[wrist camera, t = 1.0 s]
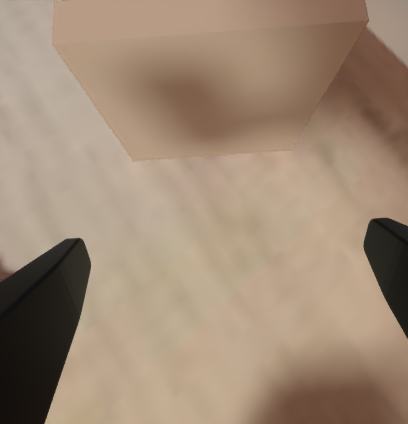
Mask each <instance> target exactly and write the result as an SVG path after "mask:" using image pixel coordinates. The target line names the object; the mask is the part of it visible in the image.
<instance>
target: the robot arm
mask: <svg viewBox="0 0 408 424" xmlns="http://www.w3.org/2000/svg"><path fill="white" fill-rule="evenodd" d="M364 251H365V254H366V256H367V258H368V261H369V263H370V265H371V268H372V270H373V272H374V275H375V277H376V279H377V282H378V284H379V286H380V289H381V291H382V293H383V295H384V297H385V299H386V301H387V303H388V305H389V307H390V309H391V310H392V312H393V314H394V316H395V317H396V319H397V321H398V323H399V324H400V326H401V328H402V330H403V331H404V333H405V335H406V337H407V338H408V226H406V225H404V224H402V223H399V222H397V221H394V220H392V219H389V218H374V219H372V220H370V222H369V224H368V228H367V232H366V236H365V239H364ZM90 269H91V261H90V258H89V255H88V252H87V249H86V246H85V243H84V241H83V240H82V239H81V238H71V239H65V240H64V241H62V242H61V243H59V244H58V245H56V246H55V247H53V248H52V249H50V250H48V251H47V252H45V253H44V254H42V255H41V256H39V257H38V258H36V259H35V260H33V261H32V262H30V263H29V264H27V265H26V266H24V267H23V268H21V269H20V270H18V271H17V272H15V273H13V274H12V275H10V276H9V277H7V278H6V279H4V280H3V281H1V282H0V424H45V421H46V418H47V415H48V412H49V409H50V406H51V403H52V400H53V397H54V394H55V391H56V388H57V385H58V382H59V379H60V376H61V373H62V370H63V367H64V364H65V361H66V358H67V355H68V352H69V349H70V346H71V343H72V340H73V338H74V335H75V332H76V329H77V326H78V322H79V319H80V316H81V312H82V307H83V303H84V298H85V293H86V288H87V284H88V279H89V274H90Z"/></svg>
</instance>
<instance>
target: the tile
mask: <svg viewBox="0 0 408 424" xmlns="http://www.w3.org/2000/svg"><path fill="white" fill-rule="evenodd" d="M368 21H369V18H368V13H367V8H366V4H365V0H62V1H54V18H53V37H52V45H53V47H54V48H55V50H56V51H57V52H58V54H59V55H60V57H61V58H62V60H63V61H64V63H65V64H66V65H67V67H68V68H69V70H70V71H71V73H72V74H73V75H74V77H75V78H76V80H77V81H78V83H79V84H80V85H81V87H82V88H83V90H84V91H85V93H86V94H87V96H88V97H89V98H90V100H91V101H92V103H93V104H94V106H95V107H96V108H97V110H98V111H99V113H100V114H101V116H102V117H103V118H104V120H105V121H106V123H107V124H108V126H109V127H110V128H111V130H112V131H113V133H114V134H115V136H116V137H117V139H118V140H119V141H120V143H121V144H122V146H123V147H124V149H125V150H126V151H127V153H128V154H129V156H130V157H131V159H132V160H133V161H145V160H159V159H174V158H189V157H203V156H218V155H232V154H247V153H261V152H276V151H290V150H291V149H292V147H293V145H294V144H295V142H296V140H297V139H298V137H299V135H300V134H301V132H302V130H303V129H304V127H305V125H306V124H307V122H308V120H309V119H310V117H311V116H312V114H313V112H314V111H315V109H316V107H317V106H318V104H319V102H320V101H321V99H322V97H323V96H324V94H325V92H326V91H327V89H328V87H329V86H330V84H331V82H332V81H333V79H334V78H335V76H336V74H337V73H338V71H339V69H340V68H341V66H342V64H343V63H344V61H345V59H346V58H347V56H348V54H349V53H350V51H351V49H352V48H353V46H354V44H355V43H356V41H357V40H358V38H359V36H360V35H361V33H362V31H363V30H364V28H365V26H366V25H367V23H368Z"/></svg>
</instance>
